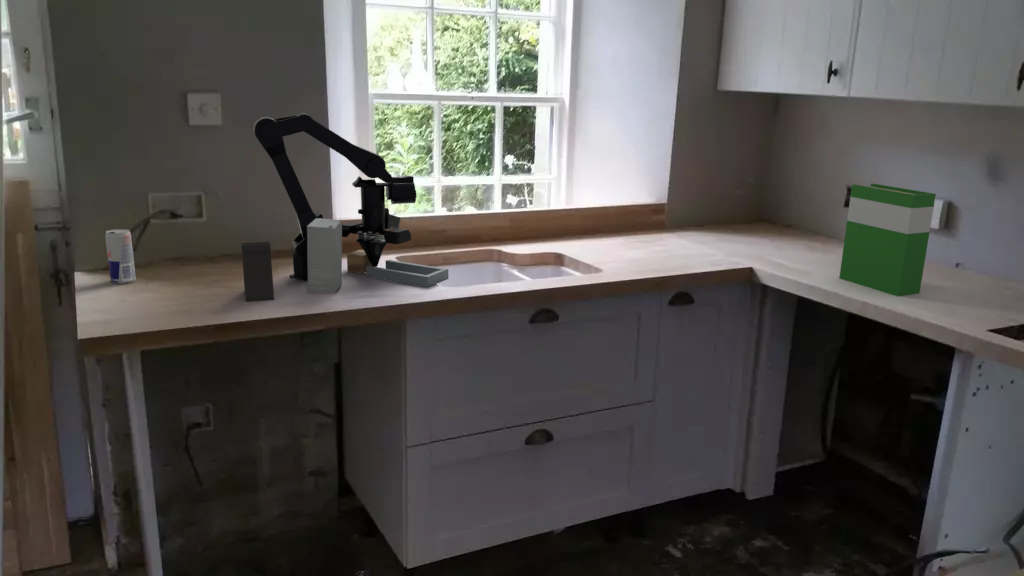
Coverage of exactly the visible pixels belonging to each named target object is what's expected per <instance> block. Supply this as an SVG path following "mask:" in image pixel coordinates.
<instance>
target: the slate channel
mask: <svg viewBox="0 0 1024 576" xmlns="http://www.w3.org/2000/svg"><path fill="white" fill-rule="evenodd" d="M365 275H366V278H371V279H377V280H384V281H388V282H394V283H401V284H406V285H412V286H418V287H423V288H424V287H425V288H429V287H432V286H434V285H437V284H439V283H442V282H445V281H447V280H449V268H445V267H438V266H430V265H424V264H419V263H413V262H405V261H399V260H393V259H387V260H385V268H384V267H378V266H377V267H373V266H368V267H366V273H365Z"/></svg>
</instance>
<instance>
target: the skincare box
mask: <svg viewBox="0 0 1024 576" xmlns="http://www.w3.org/2000/svg"><path fill="white" fill-rule="evenodd" d="M342 224H343V220H342V219H332V218H323V219H322V218H316V219H315V220H313V221H312V222H311V223H310V224H309V225H308V226H307V261H308V280H307V292H308V293H311V294H313V293H314V294H315V293H318V294H335V293H336V292H337V290H338V289H339V288H340V287H341V285H342V284H343V283H342V282H343V279H342V277H343V276H342V275H343V272H342V270H343V267H342V266H343V237H342Z"/></svg>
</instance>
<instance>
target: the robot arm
mask: <svg viewBox="0 0 1024 576" xmlns="http://www.w3.org/2000/svg"><path fill="white" fill-rule="evenodd" d="M302 132H304V133H306V134H307V135H309V136H311V137H312V138H313V139H315V140H317V141H319V143H322V144H323V145H325V146H326V147H328V148H330V149H332V150H333V151H335V152H336V153H338V154H340V155H341V156H342V157H344V158H345V159H346V160H348V161H349V162H350V163H351V164H352V165H353V166H354V167H356V169H358V170H359V171H360V172H361V173H362V174H363V175H365V176H366V177H367V178H368V179H363V178H362V177H361V176H357V178H356V179H355V180H354V181H353V182H352V186H353V187H354V188H360V197H361V198H360V203H361V204H360V205H361V208H358V210H357V213H358V215H361V222H356V221H355V222H354V221H350V222H346V223H342V238H348V237H349V236H350V235H351V234H352V235H357V238H356V241H355V242H356V243H358V244H359V246H360V247H361V249H362V250H364V252H365V253H366V255H367V257H368V259H369V261H370V263H371V265H372V266H373V267H378V266H379V263H380V260H381V257H382V254H383V251H384V248H385V247H386V245H387V244H392V245H400V244H403V243H407V242H410V241H412V233H411V231H410V230H409V229H408V228H400V223H401V217H399V216H396V215H393V214H390V210H389V207H386V200H387V201H390V203H391V205H401V204H415V203H416V199H417V190H416V185H415V181H414V179H415V178H414V176H413V175H404V176H392V174H391V173H390V172H389V171H388V170H387V169H386V162H385V160H384V158H383V157H382V156H381V155H380V154H377V153H375V152H373V151H371V150H368V149H366V148H363V147H361V146H359V145H356V144H355V143H354V144H353V143H352V142H350V141H348V140H346V138H343V136H341V135H339V134H337V133H336V132H334V131H332V130H331V129H330V128H328V127H326V126H325V125H323V124H322V123H320V122H318V121H317V120H315V119H314V118H313V117H312V116H311V115H309V114H308V113H304V112H300V113H298V114H296V115H288V116H284V117H279V118H272V117H271V116H261V117H260V118H257V120H256V121H254V124H253V133H254V136H255V137H256V139H257V140H258V142H259V143H260V145H261V146H262V148H263V149H264V151H265V152H266V154H267V155H268V156H269V158H270V159H271V161H272V163H273V165H274V167H275V169H276V171H277V173H278V175H279V178H280V181H281V182H282V185H283V187H284V188H285V191H286V193H287V196H288V197H289V200H290V203H291V204H292V207H293V209H294V210H295V214H296V217H297V218H296V219H297V222H298V226H299V230H300V233H298V235H297V236H295V237H294V239H293V240H292V245H293V246H294V247H293V248H294V250H295V251H294V252H292V263H293V265H292V266H293V273H292V274H289V275H288V277H289V278H292V279H298V280H302V281H303V280H304V281H308V261H307V226H308V225H309V224H310V223H311V222H312V221H313V220H315V219H316V218H322V219H324V217H323V214H322V212H321V210H317V211H315V212H314V210H313V209H312V207H311V205H310V203H309V201H308V199H307V197H306V194H305V192H304V190H303V188H302V185H301V183H300V181H299V178H298V177H297V174H296V172H295V170H294V168H293V165H292V163H291V161H290V158H289V157H288V154H287V151H286V146H285V141H284V137H287V136H291V135H295V134H298V133H299V134H300V133H302ZM369 178H370V179H369ZM375 179H379V180H381V181H382V182H377V181H376V180H375Z"/></svg>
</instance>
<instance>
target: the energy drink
mask: <svg viewBox="0 0 1024 576" xmlns="http://www.w3.org/2000/svg"><path fill="white" fill-rule="evenodd" d="M104 237H105V246H106V255H107V262H108V270H109V271H108V272H109V279H110V282H111V283H112V284H115V285H124V284H130V283H131V284H132V283H134V282H135V281H136V279H137V276H136V268H135V260H134V251H133V249H134V248H133V243H132V233H131V232H130V229H125V228H118V229H116V228H115V229H110V230H106V231H105V235H104Z"/></svg>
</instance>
